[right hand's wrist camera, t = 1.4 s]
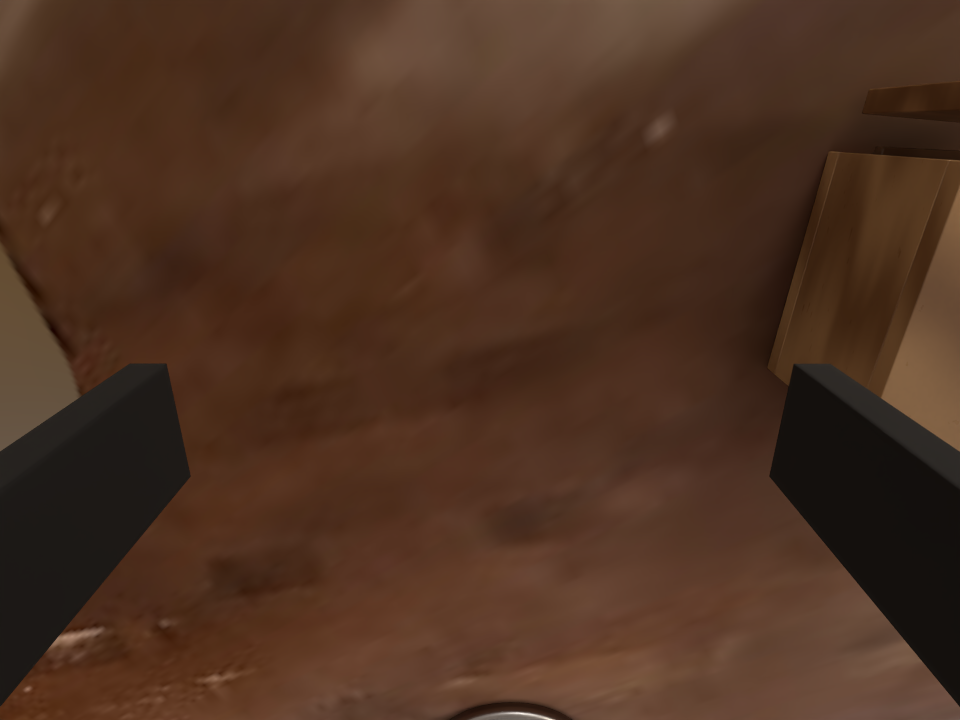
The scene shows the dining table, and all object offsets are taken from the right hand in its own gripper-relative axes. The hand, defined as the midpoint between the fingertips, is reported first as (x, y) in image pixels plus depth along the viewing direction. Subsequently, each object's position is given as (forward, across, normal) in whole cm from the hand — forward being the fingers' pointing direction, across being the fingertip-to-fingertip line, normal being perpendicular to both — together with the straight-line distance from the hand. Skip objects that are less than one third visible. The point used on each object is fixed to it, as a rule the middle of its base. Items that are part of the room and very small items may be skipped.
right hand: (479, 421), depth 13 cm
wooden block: (+24, -25, +3) cm, 35 cm away
